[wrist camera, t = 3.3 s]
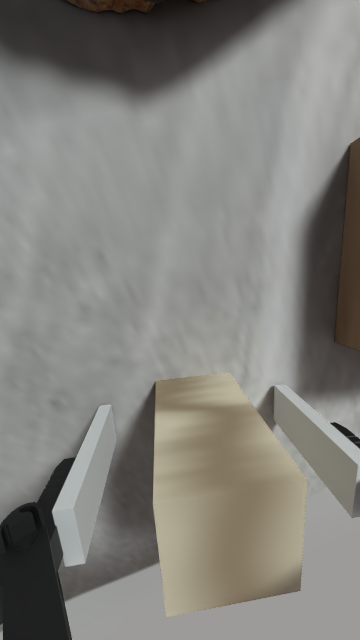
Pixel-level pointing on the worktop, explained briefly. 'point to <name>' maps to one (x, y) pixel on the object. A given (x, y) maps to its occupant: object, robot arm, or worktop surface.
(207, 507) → the oak block
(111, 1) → the stone
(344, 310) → the plinth
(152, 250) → the worktop surface
